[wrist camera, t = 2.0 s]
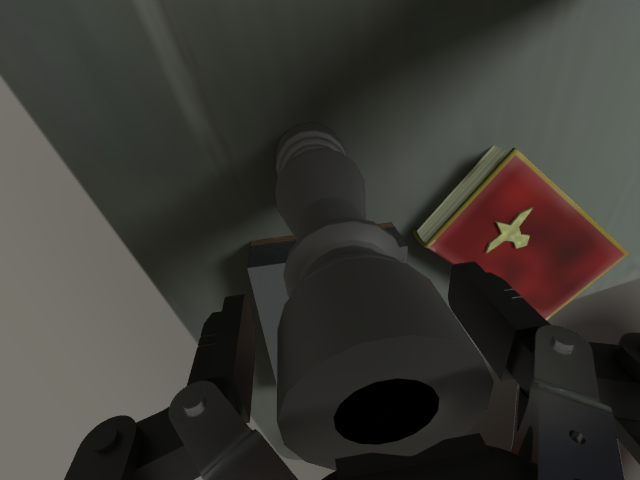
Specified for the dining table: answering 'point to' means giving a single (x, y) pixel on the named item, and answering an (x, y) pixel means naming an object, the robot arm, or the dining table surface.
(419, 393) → the candle holder
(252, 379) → the robot arm
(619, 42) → the dining table surface
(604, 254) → the hardcover book
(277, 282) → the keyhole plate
